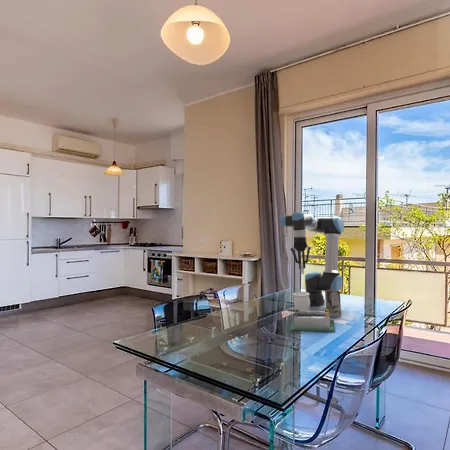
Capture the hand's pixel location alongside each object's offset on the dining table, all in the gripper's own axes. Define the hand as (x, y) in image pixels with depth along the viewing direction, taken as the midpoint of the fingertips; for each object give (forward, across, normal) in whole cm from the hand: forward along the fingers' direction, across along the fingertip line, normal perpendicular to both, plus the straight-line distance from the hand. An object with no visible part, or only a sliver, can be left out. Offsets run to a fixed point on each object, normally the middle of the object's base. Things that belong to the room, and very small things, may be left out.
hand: (302, 273), depth 221 cm
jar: (+30, -3, +8) cm, 31 cm away
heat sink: (+29, +5, -13) cm, 32 cm away
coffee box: (+30, +16, +12) cm, 36 cm away
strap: (+22, +5, -13) cm, 26 cm away
